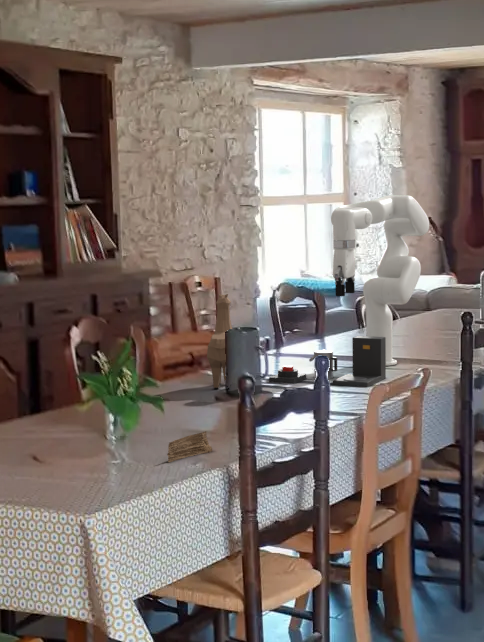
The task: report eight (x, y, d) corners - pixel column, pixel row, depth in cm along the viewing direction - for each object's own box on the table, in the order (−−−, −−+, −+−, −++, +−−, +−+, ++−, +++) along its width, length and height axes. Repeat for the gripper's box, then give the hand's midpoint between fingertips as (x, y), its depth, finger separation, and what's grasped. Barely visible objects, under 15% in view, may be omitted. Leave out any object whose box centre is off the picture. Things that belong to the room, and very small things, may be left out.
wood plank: (172, 463, 277) (172, 443, 277) (166, 462, 279) (165, 442, 278) (212, 451, 289) (212, 431, 289) (205, 450, 291) (205, 430, 290)
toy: (238, 381, 393) (237, 292, 390) (234, 392, 373) (233, 298, 370) (212, 381, 394) (211, 293, 391) (207, 392, 374) (205, 298, 371)
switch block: (281, 377, 401) (281, 367, 400) (306, 378, 397) (306, 368, 396) (269, 382, 391) (269, 371, 391) (294, 383, 387) (294, 373, 387)
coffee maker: (351, 376, 400) (351, 335, 399) (385, 378, 395) (385, 337, 394) (332, 384, 383) (332, 342, 382) (367, 387, 378) (367, 344, 377)
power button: (284, 370, 396) (284, 365, 396) (294, 371, 394) (294, 365, 394) (280, 372, 393) (280, 366, 393) (290, 372, 391) (290, 367, 391)
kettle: (312, 375, 404) (312, 349, 403) (340, 376, 399) (340, 350, 398) (305, 378, 398) (305, 351, 397) (333, 379, 394) (333, 353, 393)
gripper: (342, 243, 412) (343, 291, 414) (325, 247, 396) (326, 297, 398) (363, 243, 408) (363, 292, 410) (346, 247, 393) (347, 297, 395)
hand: (345, 294), depth 404 cm, fingers open, 9 cm apart
